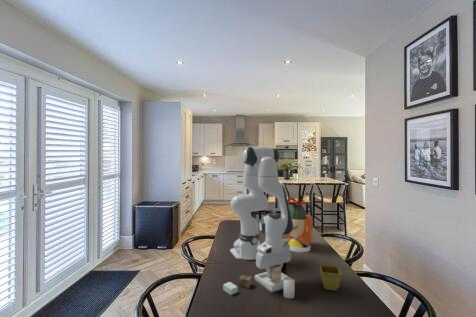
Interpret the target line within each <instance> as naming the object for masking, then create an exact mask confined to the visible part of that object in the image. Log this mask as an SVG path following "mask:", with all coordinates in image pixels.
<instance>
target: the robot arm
mask: <svg viewBox="0 0 476 317" xmlns="http://www.w3.org/2000/svg"><path fill="white" fill-rule="evenodd" d="M241 157H242V162H243V163H244V164H245V165H244V170H243V179H242V184H243V186H244V188H246V189H247V190H248V194H247V193H246V194H239V195H236V196H233V197H232V198H231V200H230V208H231V210H232V211H233V212H234V213H235V214H236V215H237V217H238V218H239V221H240V232H239V233H238V236H239V237H238V239H236V240H235V241H234V243H233V247H231V248H230V249H229V251H230V253H231V254H232V255H233V256H234V258H236V259H237V260H246V261H249V260H250V261H252V260H255V265H256V267H257V268H258V269H259V270H263V269H265V272H267V275H268V276H269V275H271V271H269V269H270V267H271V266H275V265H280V266H281V269H283V266H284V264H286V263H289V262H291V260H292V254H291V253H292V252H291V250H290V245H289V244H288V243H289V242H285V243H284V244H283V240H284V238H283V235H284V236H285V235H288V234H290V233H291V232H292V230H293V222H292V218H291V215H290V210H289V205H290V204H289V203H288V201H289V200H288V196H287V193H286V190H285V187H284V186H283V185H281V182H280V181H279V172H278V166H277V165H278V164H277V163H278V162H279V158H280V153H279V151H278V150H277V148H276V147H275V148H274V147H270V146H269V147H268V146H253V147H252V146H247V147H245V148H244V149H243V150H242V154H241ZM263 192H264V193H265V194H268V195H270V196H272V197H275V198H276V199H277V200H278V205H279V208H280V213H278V212H269V213H266V215H265V216H262V217H261V218H260V219H259V220H258V219H256V218H255V217H254V216H252V213H253V212H258V211H263V210H265V209H267V207H268V205H269V199H268V197H267V196H266V195H265V194H264V193H263ZM287 200H288V201H287ZM259 232H260V233H261V234H262V235H264V236H265V240H264V241H263V242H262V243H261V241H260V233H259Z"/></svg>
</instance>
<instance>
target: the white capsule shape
mask: <svg viewBox="0 0 476 317" xmlns="http://www.w3.org/2000/svg"><path fill="white" fill-rule="evenodd" d="M295 281H296V280H295V279H294V278H292V277H290V278H284V282H283V289H282V290H283V294H282V295H283V297H284V298H286V299H294V298H295V296H296V295H295V293H296V292H295V289H296V287H295V285H296V284H295V283H296V282H295Z"/></svg>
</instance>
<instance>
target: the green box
mask: <svg viewBox="0 0 476 317" xmlns="http://www.w3.org/2000/svg"><path fill="white" fill-rule="evenodd" d="M222 290H223V291H224V292H226V293H227V294H229V295H230V296H233V295H234V294H237V293H238V292H239V291H238V286H237V285H236V284H235V283H232V282H231V281H227V282H226V283H223V284H222Z"/></svg>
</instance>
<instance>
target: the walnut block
mask: <svg viewBox="0 0 476 317" xmlns="http://www.w3.org/2000/svg"><path fill="white" fill-rule="evenodd" d="M251 285H252V276H250V275H244V274H242V275H241V276H240V277H239V278H238V286H239V287H243V288H247V289H249V288H250V286H251Z"/></svg>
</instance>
